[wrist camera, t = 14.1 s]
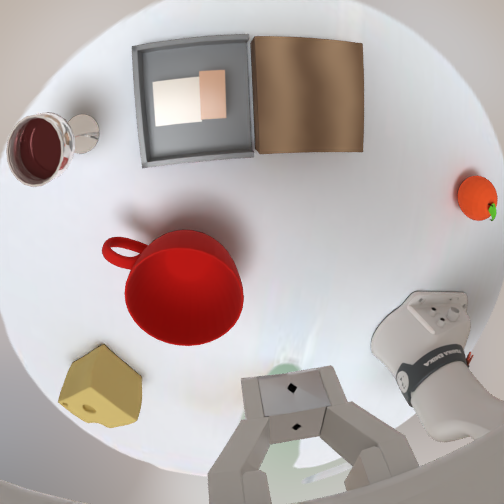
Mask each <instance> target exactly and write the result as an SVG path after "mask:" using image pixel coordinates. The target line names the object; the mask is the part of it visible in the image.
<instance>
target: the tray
mask: <svg viewBox="0 0 504 504" xmlns="http://www.w3.org/2000/svg"><path fill="white" fill-rule="evenodd" d="M248 40H249V34H234V35H216V36H203V37H192V38H183V39H175V40H167V41H160V42H154V43H148V44H142V45H137V46H132V63H133V80H134V94H135V107H136V118H137V128H138V137H139V146H140V154H141V162H142V168H148V167H156V166H164V165H172V164H181V163H190V162H200V161H211V160H223V159H236V158H251V157H254V151H253V150H252V149H251V130H250V108H249V86H248V64H247V41H248ZM211 70H225V90H226V118H219V119H203V121H202V122H192V123H182V124H173V125H164V126H156V124H155V111H154V97H153V82H156V81H164V80H172V79H181V78H190V77H199V71H211Z"/></svg>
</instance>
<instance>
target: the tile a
mask: <svg viewBox="0 0 504 504" xmlns="http://www.w3.org/2000/svg"><path fill="white" fill-rule="evenodd" d="M153 97H154V111H155V124H156V126H164V125H173V124H182V123H192V122H202V121H203V120H201V109H200V84H199V77H190V78H181V79H172V80H164V81H156V82H153Z"/></svg>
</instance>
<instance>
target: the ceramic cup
mask: <svg viewBox="0 0 504 504" xmlns="http://www.w3.org/2000/svg"><path fill="white" fill-rule="evenodd" d="M111 247H120V248H125V249H129V250H132V251H135V252H138V253H140V254H139V255H137V256H135V257H126V256H122V255H120V254H117V253H116V252H114V251H113V250H112V249H111ZM102 254H103V256H104V258H105V259H106V260H107V261H109V262H110V263H112V264H113V265H116V266H118V267H121V268H125V269H130V270H131V271H130V273H129V276H128V279H127V281H126V286H125V302H126V305H127V308H128V311H129V313H130V315H131V317H132V318H133V320H134V321H135V322H136V323H137V325H138V326H139V327H140V328H141V329H142V330H144V331H145V332H146V333H147V334H149V335H150V336H152V337H154V338H156V339H158V340H160V341H163V342H166V343H169V344H174V345H182V346H192V345H201V344H204V343H208V342H211V341H213V340H215V339H218V338H219V337H221V336H222V335H224V334H225V333H227V332H228V331H229V330H230V329H231V328H232V327H233V326H234V325H235V323H236V322H237V320H238V319H239V317H240V314H241V311H242V308H243V301H244V295H243V287H242V282H241V279H240V276H239V273H238V271H237V268H236V265H235V263H234V261H233V259H232V258H231V256H230V255H229V253H228V251H227V250H226V249H225V248H224V247H223V246H222V245H221V244H220V243H219V242H218V241H216V240H215V239H214V238H212V237H211V236H209V235H206V234H204V233H202V232H197V231H193V230H178V231H173V232H170V233H167V234H164V235H162V236H161V237H159V238H157V239H156V240H154V241H153V242H152V243H151V244H150V245H146V244H144V243H141V242H138V241H135V240H132V239H129V238H124V237H112V238H109V239H107V240H106V241H105V243H104V245H103V247H102Z"/></svg>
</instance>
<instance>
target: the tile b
mask: <svg viewBox="0 0 504 504" xmlns="http://www.w3.org/2000/svg"><path fill="white" fill-rule="evenodd" d="M199 84H200V109H201V120H203V119H219V118H226V90H225V70H211V71H199Z"/></svg>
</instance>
